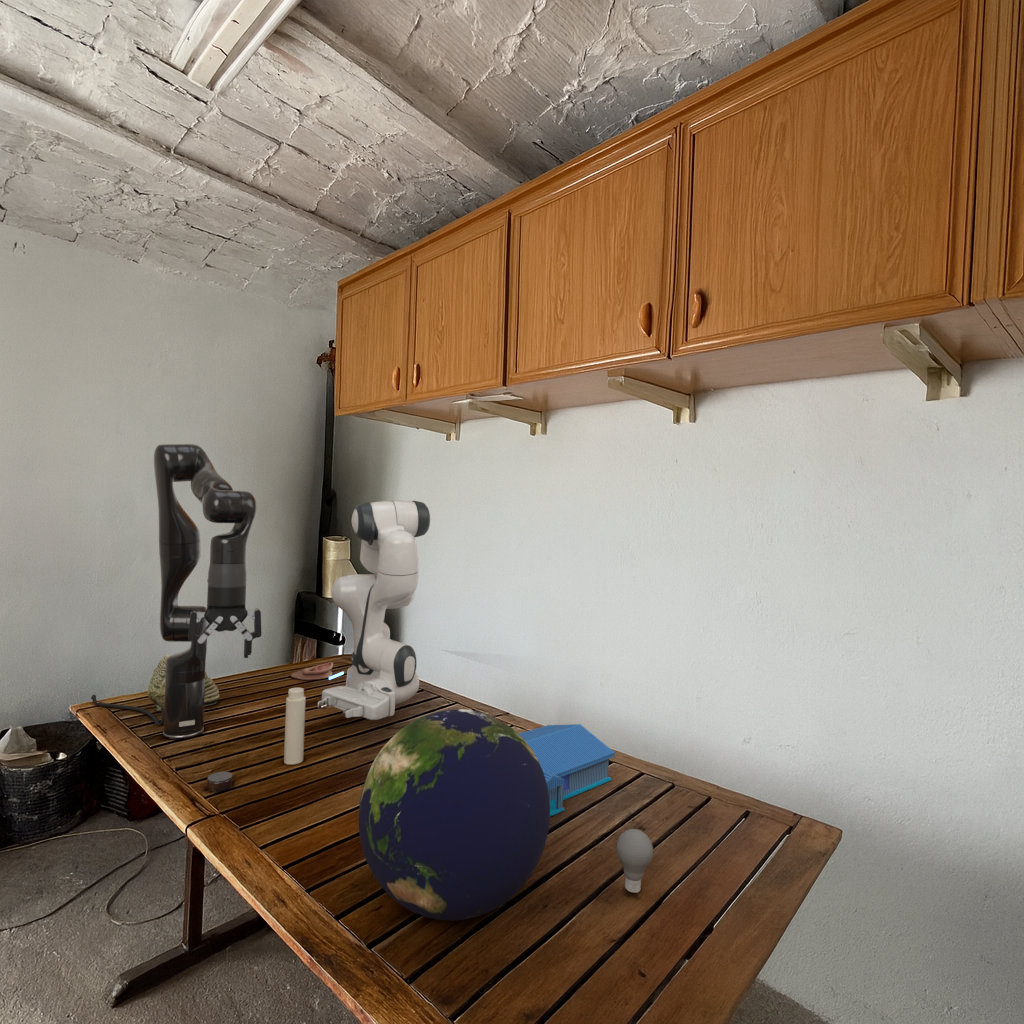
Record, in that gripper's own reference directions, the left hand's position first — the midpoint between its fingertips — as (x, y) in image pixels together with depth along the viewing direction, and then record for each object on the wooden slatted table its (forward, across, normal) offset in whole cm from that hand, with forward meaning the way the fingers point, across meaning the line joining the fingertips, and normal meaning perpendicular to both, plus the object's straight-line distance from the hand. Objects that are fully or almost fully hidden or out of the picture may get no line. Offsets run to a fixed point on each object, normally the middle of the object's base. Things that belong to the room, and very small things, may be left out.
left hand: (224, 658), depth 136 cm
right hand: (+19, +26, +14) cm, 35 cm away
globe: (+28, +31, -56) cm, 70 cm away
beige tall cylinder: (+28, +16, +8) cm, 33 cm away
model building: (+28, +61, -26) cm, 72 cm away
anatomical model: (+28, +33, +78) cm, 89 cm away
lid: (+26, 0, 0) cm, 26 cm away
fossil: (+28, -7, +58) cm, 65 cm away
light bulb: (+28, +60, -66) cm, 93 cm away
